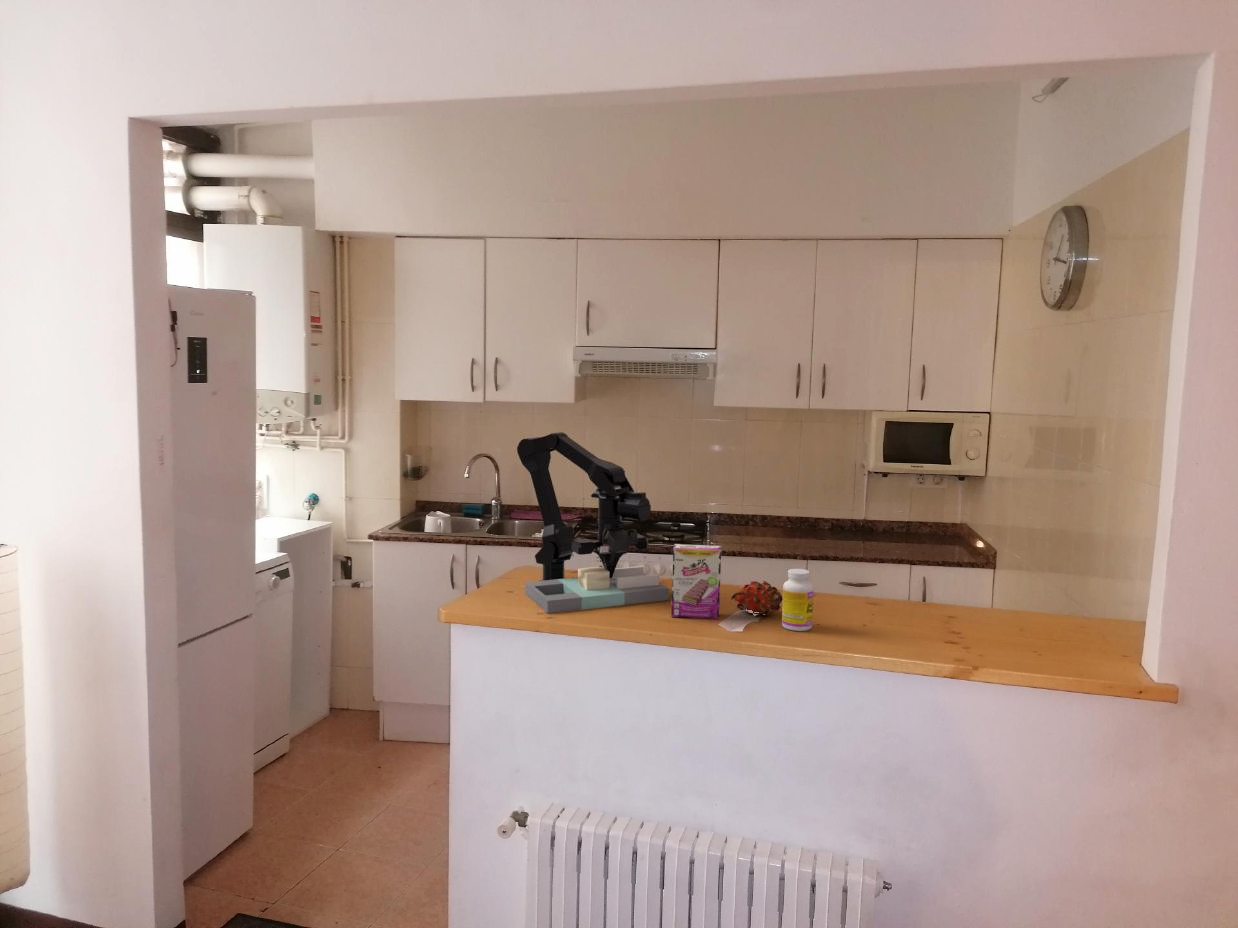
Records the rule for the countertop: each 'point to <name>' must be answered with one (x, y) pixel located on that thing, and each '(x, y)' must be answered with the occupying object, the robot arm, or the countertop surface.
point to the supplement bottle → (797, 601)
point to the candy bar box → (696, 581)
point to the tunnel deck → (597, 591)
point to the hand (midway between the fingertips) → (609, 577)
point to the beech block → (593, 578)
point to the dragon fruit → (758, 598)
